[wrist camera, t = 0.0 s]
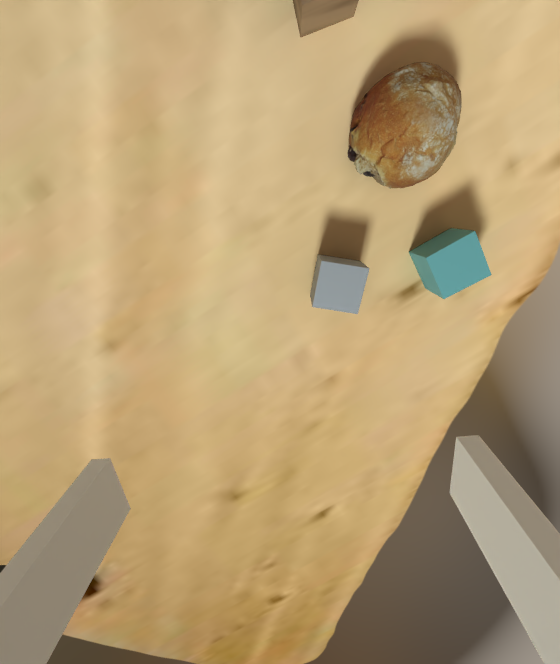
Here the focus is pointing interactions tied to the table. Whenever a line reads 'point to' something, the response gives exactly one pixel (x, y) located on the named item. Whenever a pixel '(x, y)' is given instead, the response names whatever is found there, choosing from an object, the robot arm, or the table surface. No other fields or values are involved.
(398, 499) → the table surface
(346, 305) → the slate grey block
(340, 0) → the walnut block
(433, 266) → the dark teal block
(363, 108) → the bread roll
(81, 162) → the table surface
